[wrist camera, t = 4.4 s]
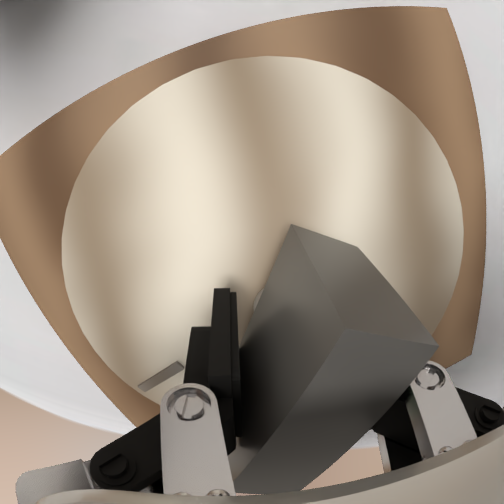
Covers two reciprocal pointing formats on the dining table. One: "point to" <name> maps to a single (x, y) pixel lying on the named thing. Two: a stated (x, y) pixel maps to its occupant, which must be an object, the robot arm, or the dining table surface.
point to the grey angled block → (319, 362)
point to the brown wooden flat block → (250, 187)
